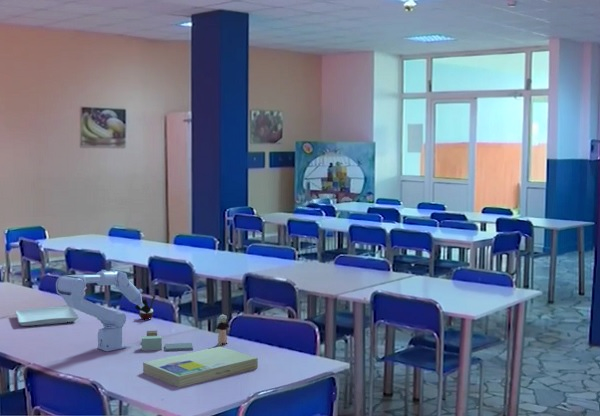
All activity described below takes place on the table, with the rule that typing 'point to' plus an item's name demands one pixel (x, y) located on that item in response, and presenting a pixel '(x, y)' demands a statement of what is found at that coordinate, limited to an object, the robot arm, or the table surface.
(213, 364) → the puzzle box
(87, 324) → the table surface
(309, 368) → the table surface
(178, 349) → the rubber mat
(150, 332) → the plain olive brown cube
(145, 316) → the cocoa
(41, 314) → the square plate
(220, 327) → the grandmother figurine
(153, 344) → the tall sage green block
